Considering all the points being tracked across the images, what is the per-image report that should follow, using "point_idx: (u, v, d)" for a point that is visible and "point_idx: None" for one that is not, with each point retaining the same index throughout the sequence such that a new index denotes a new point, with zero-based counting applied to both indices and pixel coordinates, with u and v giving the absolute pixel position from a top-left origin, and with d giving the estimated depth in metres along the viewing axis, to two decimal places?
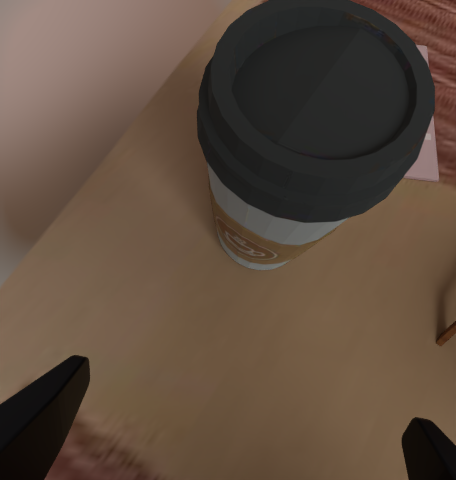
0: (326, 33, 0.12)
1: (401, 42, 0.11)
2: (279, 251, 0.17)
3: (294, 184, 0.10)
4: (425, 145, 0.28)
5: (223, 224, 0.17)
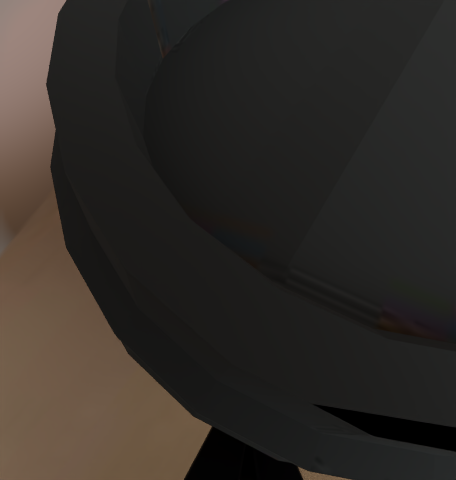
0: None
1: None
2: None
3: (358, 437, 0.03)
4: None
5: None
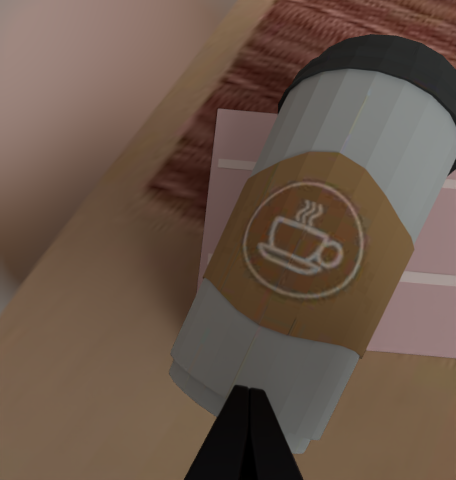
0: None
1: None
2: (373, 230, 0.11)
3: (420, 56, 0.12)
4: None
5: (279, 200, 0.12)
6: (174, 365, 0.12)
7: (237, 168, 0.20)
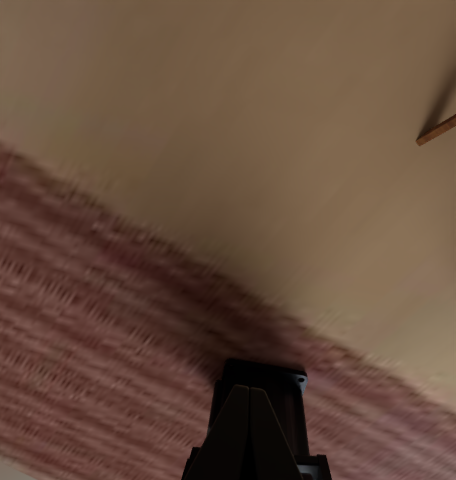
0: None
1: None
2: None
3: None
4: None
5: None
6: None
7: None
